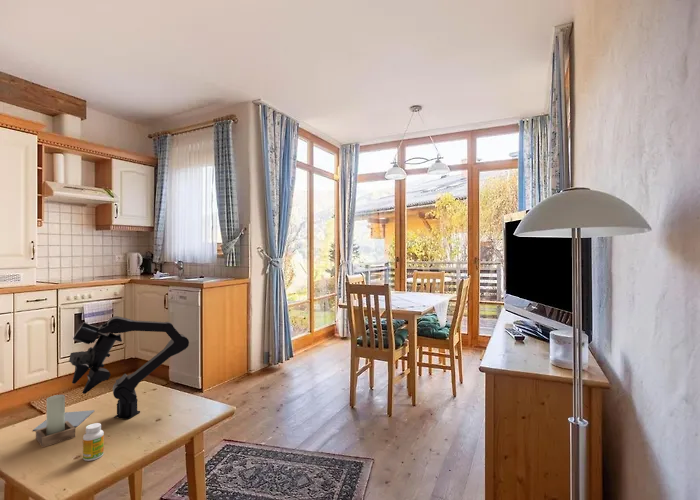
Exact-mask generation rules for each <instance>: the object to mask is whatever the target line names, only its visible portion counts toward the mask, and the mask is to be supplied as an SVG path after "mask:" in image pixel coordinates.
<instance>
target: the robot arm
mask: <svg viewBox="0 0 700 500" xmlns="http://www.w3.org/2000/svg"><path fill="white" fill-rule="evenodd" d="M129 332H151V333H152V332H156V333H158V332H159V333H166V334H167V336H168V337H169V338H170V340H169V341H168V343H167V344H166V346H165V347H164V348H163V349H162V350H161V351H159V352H158V353H156V354H155V355H154V356H153V357H151V359H149V360H148V361H147V362H145V363H144V364H143V365H141V367H139V368H138V369H136V371H134V372H133V373H131V374H129V375H127V374H126V373H124V374H123V375H122V376H121V377H120V378H118V379H116V380H115V382H114V384H113V386H112V395H113V397H114V398H115V399H117V404H116V415H114V416H113V417H114V418H115V419H126V420H129V419H131V418H132V417H134V416H137V415H138V414H140V413H141V410H138V396H137V393H136V392H137V391H136V388H137V387H138V385H139V384H140V382H142V381H143V380H144V379H145V378H146V377H148V376H149V375H150V374H151V373H152V372H154V371H155V370H156V369H157V368H159V367H160V366H161V365H162V364H163V363H165V362H166V361H167V360H169V358H171V357H173V356H175V355H176V356H177V354H180V353H181V352H183V351H185V350H186V349H187V348H188V347H189V345H190V342H189V338H188V337H187V336H185V335H184V334H182V333H180V332H179V331H178V330H177V329H176V328H175V326H174V324H172V322H171V321H150V320H149V321H148V320H147V321H146V320H134V319H130V318H127V317H122V316H112V317H110V318H109V319H108V320H107V322H104V323H103V324H101V325H99V326H95V325H92V324H89V323H88V322H85V321H84V322H82V324H81V326H79V328H78V329H77V331H76V332H75V334H74V336H73V337H72V339H73V340H74V341H77V342H81V343H83V344H85V345H90V344H92V343H95V344H94V345H93V347H89V348H88V349H87V351H86V350H85V351H84V350H82V351H75V352H71V353H70V354H69V359H68V362H69V363H70V364H71V365H72V366H74V368H75V369H74V373H73V377H72V381H71V383H72V384H74V385H75V384H76V383H78V381H79V380H81V378H82V377H83V376H84V375H85V374H86V373H87V372H88V374H86V376H87V381H86V383H85V386H84V387H83V389H82V394H83V395H86V394H87V393H89V392H90V391H92V389H93V388H95V387H96V386H98V385H99V384H100V383H102V382H105V381H108V380H109V379H110V377H111V376H112V374H111V372H110V371H109V370H108V369H107V368H104V367H105V364H104V362H105V360H106V358H110V356H111V353H110V352H111V350H112V348H113V346H114V345H115V343H116V341H117V342H119V343H122V342H123V339H122V336H121V334H122V333H123V334H124V333H129Z"/></svg>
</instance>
